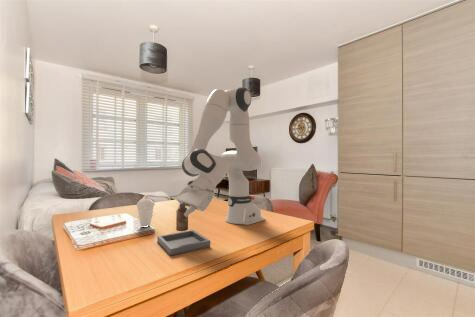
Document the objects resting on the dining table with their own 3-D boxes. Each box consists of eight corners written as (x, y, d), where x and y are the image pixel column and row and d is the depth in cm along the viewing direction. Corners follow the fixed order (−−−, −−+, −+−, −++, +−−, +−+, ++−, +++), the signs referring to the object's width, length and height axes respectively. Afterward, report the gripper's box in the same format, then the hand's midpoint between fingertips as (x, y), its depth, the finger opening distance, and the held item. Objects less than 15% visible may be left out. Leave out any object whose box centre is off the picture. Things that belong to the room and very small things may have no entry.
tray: (193, 235, 107) (193, 229, 107) (210, 246, 94) (210, 240, 94) (157, 242, 98) (157, 236, 98) (170, 256, 85) (170, 249, 85)
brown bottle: (185, 227, 99) (185, 201, 99) (189, 229, 95) (190, 203, 95) (174, 228, 97) (174, 202, 97) (178, 231, 93) (179, 204, 93)
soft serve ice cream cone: (148, 230, 114) (148, 196, 114) (132, 228, 115) (133, 195, 115) (157, 225, 122) (157, 193, 122) (142, 223, 124) (143, 192, 123)
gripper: (220, 196, 95) (199, 224, 89) (195, 190, 111) (175, 214, 105) (211, 185, 92) (188, 214, 86) (186, 181, 108) (165, 205, 102)
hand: (181, 214), depth 96 cm, fingers closed on brown bottle, 5 cm apart
